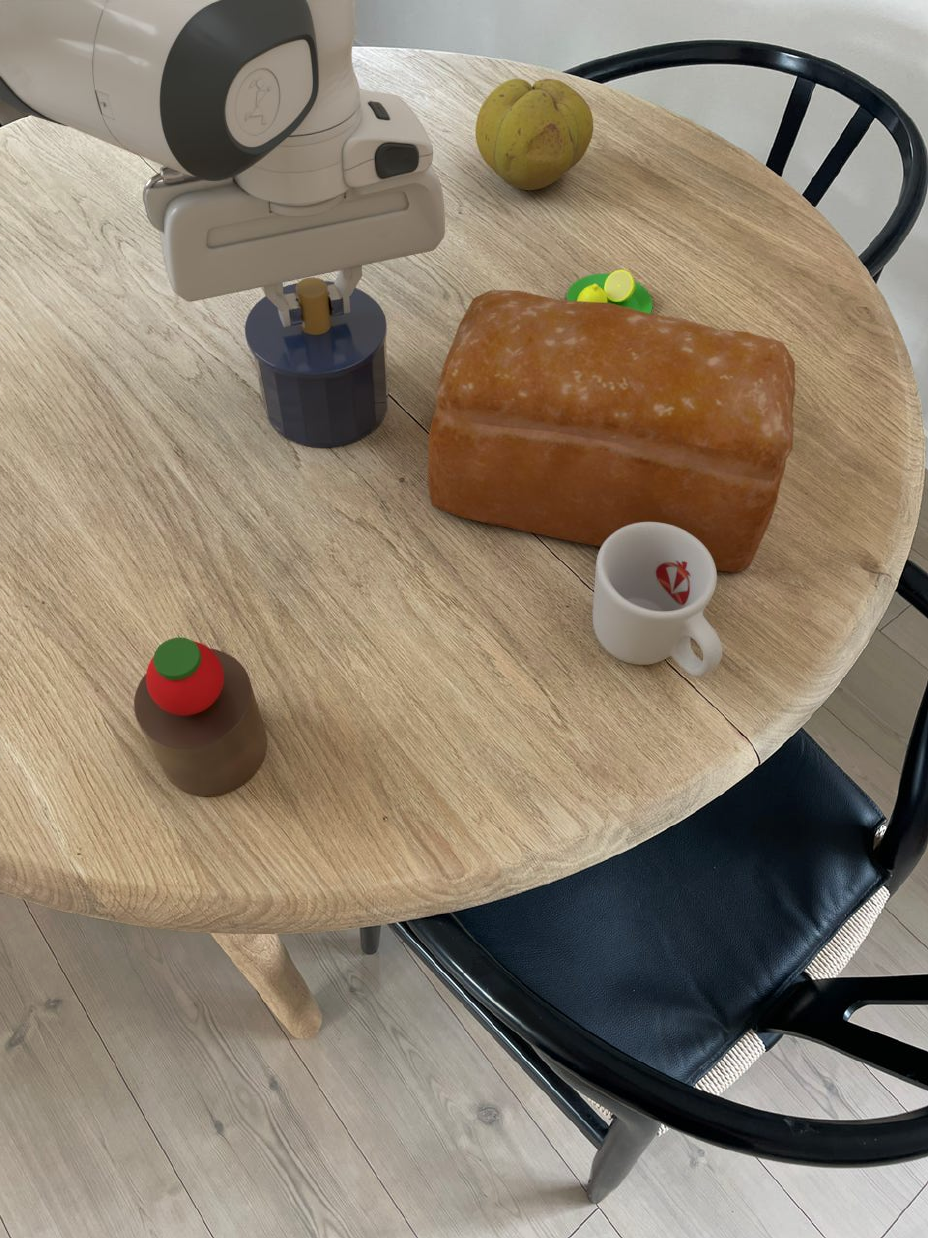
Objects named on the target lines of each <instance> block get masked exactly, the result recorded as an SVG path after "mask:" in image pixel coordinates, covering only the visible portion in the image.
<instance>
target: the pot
mask: <svg viewBox="0 0 928 1238" xmlns="http://www.w3.org/2000/svg"><path fill="white" fill-rule="evenodd" d="M387 350H388V349H387V338H386V339H385V342H384V344H383V346H382V348H381V349H380V351H379V352H378V354H377V355H376V356H375V357H374V358H373V359H372V360H371V361H369V362H368V363H367V364H365V365H364V366H362V367H360V368H358V369H356V370H355V371H352V372H350V373H347V374H344V375H340V376H337V377H331V378H324V379H302V378H295V377H290V376H287V375H283V374H280V373H278V372H275V371H273V370H271V369H269V368H267V367H266V366H265V365H263V364H262V363H260V362H259V361H258V360H257V359H256V358H255V357H254V356H253V357H254V358H253V359H254V364H255V368H256V373H257V379H258V384H259V389H260V395H261V401H262V405H263V408H264V411H265V415H266V418H267V419H268V422H269V423H270V425H271V426H272V428H273V429H274V430H275V431H276V432H277V433H278V434H279V435H281V436H282V437H283V438H285V439H287V440H288V441H291V442H293V443H295V444H298V445H301V446H304V447H311V448H317V449H329V448H330V449H331V448H337V447H343V446H347V445H350V444H353V443H356V442H358V441H361V440H362V439H364V438H366V437H367V436H370V434H371V433H373V432H374V431H375V430H376V429H377V428H378V427H379V426H380V425H381V424H382V423H383V420H384V419H385V417H386V414H387V412H388V407H389V375H388V373H389V372H388V353H387Z"/></svg>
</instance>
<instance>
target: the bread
mask: <svg viewBox="0 0 928 1238" xmlns="http://www.w3.org/2000/svg"><path fill="white" fill-rule="evenodd" d="M795 363H796V362H795V360H794V358H793V357H792V355H791V354H790V352H789V350H788V348H787V347H786V345H785V343H784V342H783V341H781V340H777V339H774V338H770V337H766V336H762V335H758V334H754V333H751V332H748V331H741V330H740V331H739V330H731V329H719V328H715V327H712V326H708V325H705V324H702V323H698V322H695V321H692V320H689V319H685V318H679V317H674V316H667V315H660V314H655V313H650V314H649V313H645V312H642V311H638V310H634V309H630V308H626V307H623V306H619V305H615V304H611V303H602V302H582V301H569V300H567V299H556V298H552V297H549V296H548V297H547V296H544V295H539V294H535V293H531V292H527V291H522V290H511V289H510V290H507V289H504V290H503V289H502V290H501V289H499V290H497V289H490V290H488V291H486V292H484V293H482V294H480V295H478V296H475V297H473V299H472V300H471V302H470V304H469V305H468V308H467V309H466V312H465V313H464V314H463V317H462V319H461V321H460V323H459V325H458V327H457V330H456V333H455V335H454V338H453V340H452V343H451V346H450V349H449V350H448V353H447V356H446V358H445V360H444V363H443V367H442V369H441V370H442V371H441V373H440V377H439V379H438V380H439V381H438V383H437V388H436V391H435V399H436V404H435V409H434V412H433V417H432V421H431V424H430V429H429V432H428V439H427V488H428V494H429V498H430V503H431V506H432V507H434V508H436V509H438V510H441V511H443V512H446V513H449V514H451V515H454V516H457V517H460V518H464V519H469V520H473V521H477V522H481V523H486V524H490V525H494V526H500V527H504V528H508V529H513V530H518V531H522V532H526V533H527V532H528V533H532V534H535V535H536V534H537V535H541V536H546V537H552V538H555V539H561V540H565V541H569V542H574V543H579V544H584V545H590V546H596V547H600V548H601V547H602V545H603V543H604V542H605V541H606V539H607V538H608V537H609V536H610V535H612V534H613V533H614V532H616V531H617V530H619V529H621V528H623V527H625V526H628V525H631V524H635V523H640V522H659V523H665V524H669V525H673V526H675V527H678V528H680V529H683V530H685V531H686V532H688V533H690V534H691V535H693V536H694V537H696V538H697V539H698V540H699V541H700V542H701V543H702V544H703V545H704V546H705V547H706V548H707V550H708V551H709V553H710V554H711V556H712V558H713V560H714V563H715V567H716V571H721V572H729V573H739V572H740V571H742V570H744V569H746V568H748V567H750V566H751V564H752V561H753V559H754V557H755V555H756V553H757V551H758V548H759V546H760V544H761V542H762V540H763V538H764V535H765V533H766V531H767V529H768V526H769V524H770V523H771V520H772V517H773V513H774V511H775V507H776V504H777V501H778V496H779V491H780V489H781V483H782V479H783V477H784V472H785V470H786V469H785V468H786V465H787V464H786V463H787V459H788V457H789V456H790V454H791V451H792V450H793V445H794V443H793V442H794V426H795V424H794V418H793V411H794V402H795V396H796V395H795V394H796V365H795Z"/></svg>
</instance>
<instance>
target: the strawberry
mask: <svg viewBox="0 0 928 1238" xmlns="http://www.w3.org/2000/svg"><path fill="white" fill-rule="evenodd" d="M211 649H212V648H211ZM211 649H210V647H208V646H207V645H205V644H203V643H200V642H198V641H195V640H191V639H190V638H187V637H173V638H170V639H167V640H165V641H164V642H162V643H161V644H160V645H159V646H158V647H157V648H156V650H155V651H154V654H153V656H152V658H151V660H150V661H149V663H148V666H147V667H146V668H147V669H146V673H145V674H146V685H147V689H148V692H149V694H150V696H151V698H152V699H153V701H154V702H155V703H156V704H157V705H158V706H159V707H160V708H162V709H163V710H165V711H167V712H169V713H172V714H176V715H193V714H197V713H200V712H202V711H204V710H206V709H207V708H209V707H210V706H211V705H212V704H213V703H214V702H215V701H216V699H217V698H218V696H219V695H220V693H221V690H222V687H223V683H224V672H223V667H222V664H221V662H220V660H219V658H218V657H217V655H216V654H215V653H214V652H213V651H212V650H211Z"/></svg>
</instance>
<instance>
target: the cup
mask: <svg viewBox="0 0 928 1238" xmlns="http://www.w3.org/2000/svg"><path fill="white" fill-rule="evenodd" d="M596 557H597V558H596V562H595V575H594V587H593V588H594V590H593V603H592V625H593V630H594V633H595V636H596V639H597V640H598V642H599V643H600V645H601V646H602V647H603V649H604V650H606V652H607V653H608V654H610V655H611V656H613V657H614V658H615V659H618V660H619V661H621V662H624V663H627V664H632V665H638V666H647V665H653V664H657V663H659V662H663V661H665V660H666V659H668V658H672V659H673V660H674V661H675V662H676V663H677V664H678V666H679V667H680V668H681V669H682V670H683V671H684V672H686V673H687V674H688V675H690V676H691V677H695V678H702V677H705V676H707V675H710V673H712V672H713V671H715V669H716V668H718V666H719V664H720V663H721V661H722V659H723V644H722V641H721V638H720V637H719V635H718V633H717V632H716V630H715V629H714V628H713V626H712V625H711V624H710V622H709V621H708V620H707V619H706V617H705V616H704V610H705V609H706V608H707V605H708V604H709V602H710V601H711V599H712V597H713V595H714V593H715V590H716V588H717V580H718V573H717V570H716V567H715V563H714V560H713V558H712V556H711V554H710V553H709V551H708V550H707V548H706V547H705V546H704V545H703V544H702V543H701V542H700V541H699V540H698V539H697V538H696V537H694V536H693V535H691V534H690V533H688V532H686V531H685V530H683V529H680V528H678V527H675V526H673V525H669V524H665V523H659V522H640V523H635V524H631V525H628V526H625V527H623V528H621V529H619V530H617V531H616V532H614V533H613V534H612V535H610V536H609V537H608V538H607V539H606V541H605V542H604V543H603V545H602V547H601V546H600V549H599V551H598V553H597V556H596ZM691 639H693V640H694V641H695V642H696V644H697V645H698V646H699V648H700V651H701V653H702V660H701V659H700V658H699V657H698V656H697V655H696V653H695V652H694V650H693V649H692V645H691Z"/></svg>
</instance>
